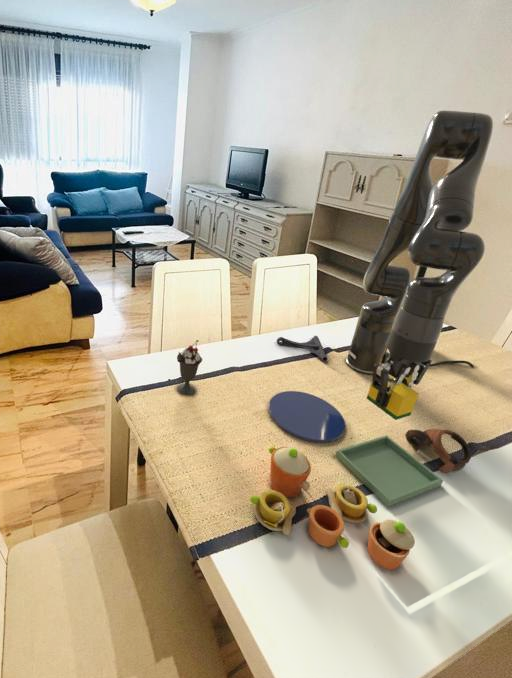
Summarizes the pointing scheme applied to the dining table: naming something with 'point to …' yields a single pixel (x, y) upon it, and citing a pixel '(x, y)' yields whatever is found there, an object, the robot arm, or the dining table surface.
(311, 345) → the bracket
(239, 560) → the dining table surface
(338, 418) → the plate
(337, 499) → the toy tea set
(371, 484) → the dish
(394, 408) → the sponge
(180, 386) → the sundae
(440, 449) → the pottery mug
